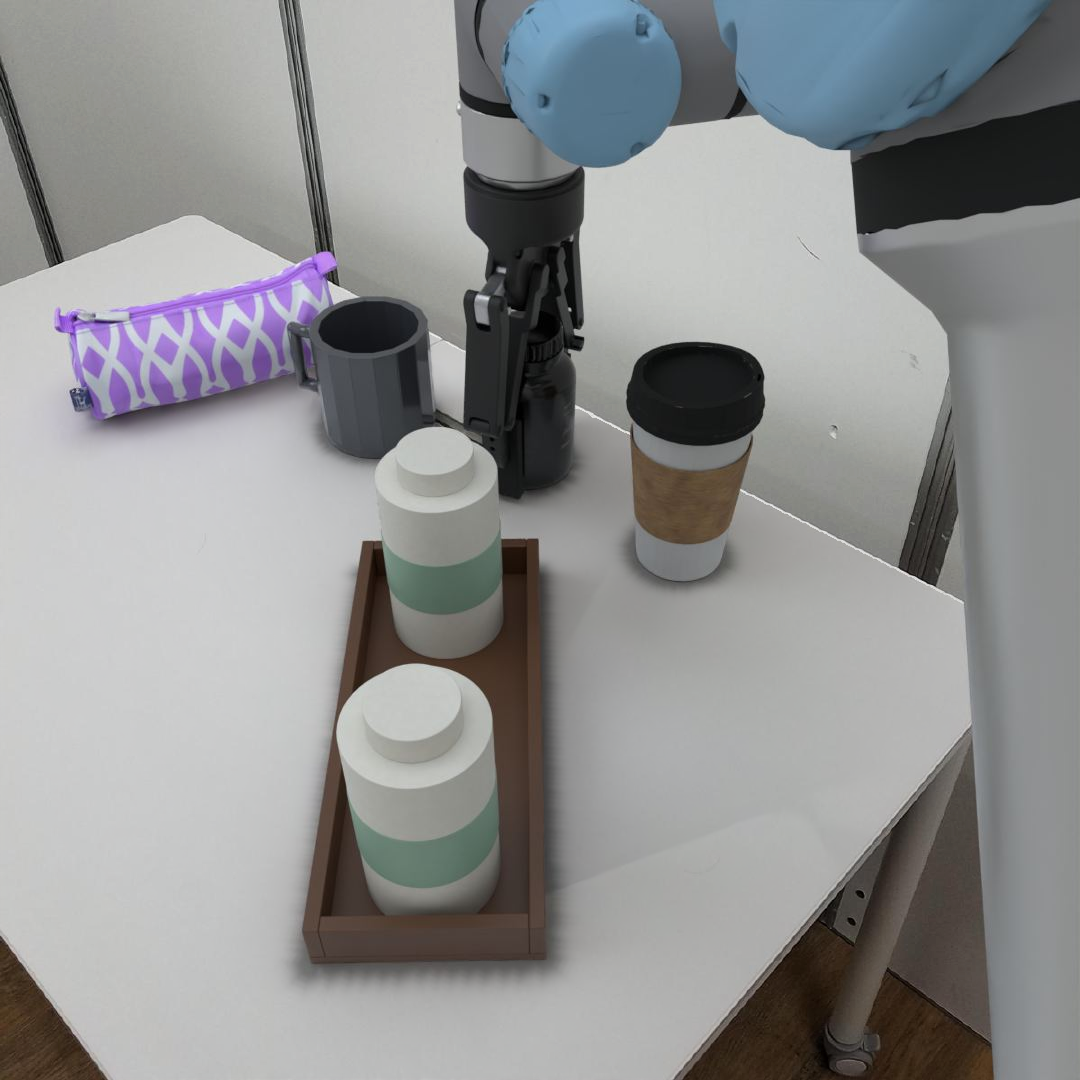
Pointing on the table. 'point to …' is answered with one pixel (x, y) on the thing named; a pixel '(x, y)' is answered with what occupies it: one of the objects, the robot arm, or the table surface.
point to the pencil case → (193, 341)
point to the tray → (516, 704)
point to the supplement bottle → (546, 404)
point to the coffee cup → (690, 451)
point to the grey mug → (368, 372)
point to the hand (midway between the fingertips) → (528, 456)
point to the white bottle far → (441, 542)
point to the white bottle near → (422, 790)
